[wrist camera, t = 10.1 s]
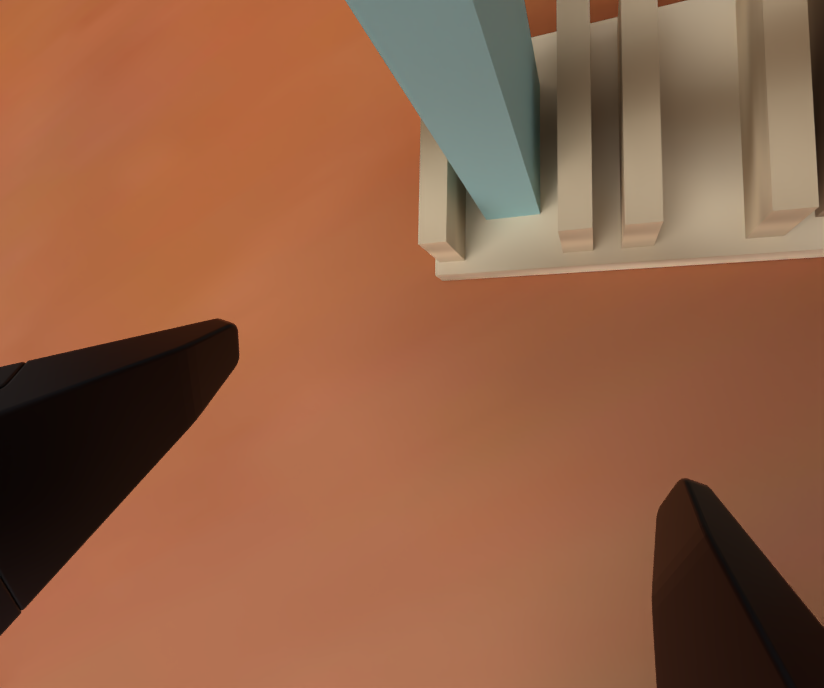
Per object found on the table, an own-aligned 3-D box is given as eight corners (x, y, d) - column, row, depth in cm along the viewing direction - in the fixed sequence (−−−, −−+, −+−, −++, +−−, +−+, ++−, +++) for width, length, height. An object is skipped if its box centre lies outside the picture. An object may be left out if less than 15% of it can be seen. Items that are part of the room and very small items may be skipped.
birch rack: (1066, 241, 13) (1220, 192, 10) (443, 280, 20) (412, 259, 16) (1034, -59, 14) (1166, -194, 11) (446, 74, 20) (417, 14, 17)
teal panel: (540, 214, 17) (440, -100, 6) (486, 219, 18) (311, -52, 7) (539, 85, 18) (446, -421, 7) (487, 95, 19) (324, -345, 7)
